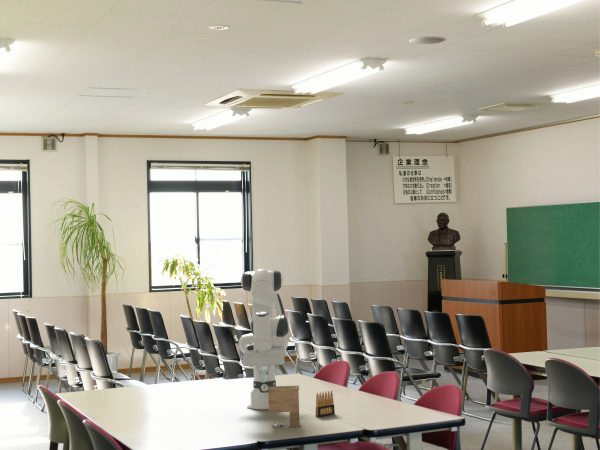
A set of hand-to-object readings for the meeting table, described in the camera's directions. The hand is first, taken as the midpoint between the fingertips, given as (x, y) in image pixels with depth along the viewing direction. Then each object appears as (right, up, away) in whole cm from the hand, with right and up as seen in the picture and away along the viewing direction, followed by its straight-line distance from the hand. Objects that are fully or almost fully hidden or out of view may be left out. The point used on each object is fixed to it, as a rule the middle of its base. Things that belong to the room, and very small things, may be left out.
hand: (263, 374), depth 431 cm
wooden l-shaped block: (+10, -22, -13) cm, 27 cm away
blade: (0, -2, 0) cm, 2 cm away
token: (+7, -22, -13) cm, 27 cm away
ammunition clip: (+30, -22, +9) cm, 38 cm away
